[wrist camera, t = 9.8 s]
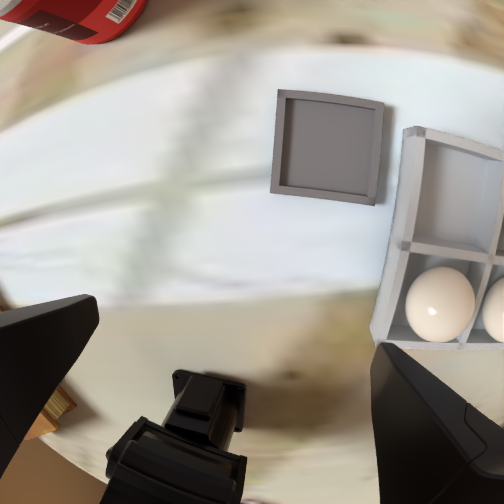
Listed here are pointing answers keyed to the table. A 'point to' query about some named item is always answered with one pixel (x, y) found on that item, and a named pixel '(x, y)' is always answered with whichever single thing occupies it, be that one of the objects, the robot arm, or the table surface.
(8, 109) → the table surface
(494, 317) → the white egg
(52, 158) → the table surface
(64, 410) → the diary
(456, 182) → the egg tray
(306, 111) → the egg dish
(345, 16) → the table surface
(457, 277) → the white egg
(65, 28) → the canned food
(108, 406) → the table surface
